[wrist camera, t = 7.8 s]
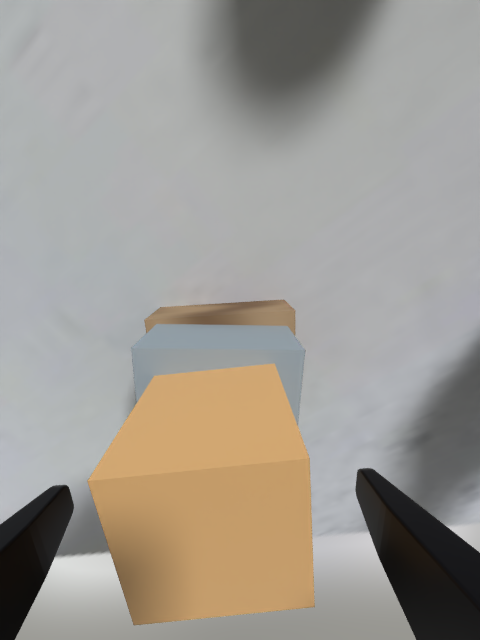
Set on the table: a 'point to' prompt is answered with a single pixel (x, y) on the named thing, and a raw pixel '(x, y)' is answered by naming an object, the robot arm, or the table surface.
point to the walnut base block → (227, 314)
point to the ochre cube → (209, 498)
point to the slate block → (219, 353)
